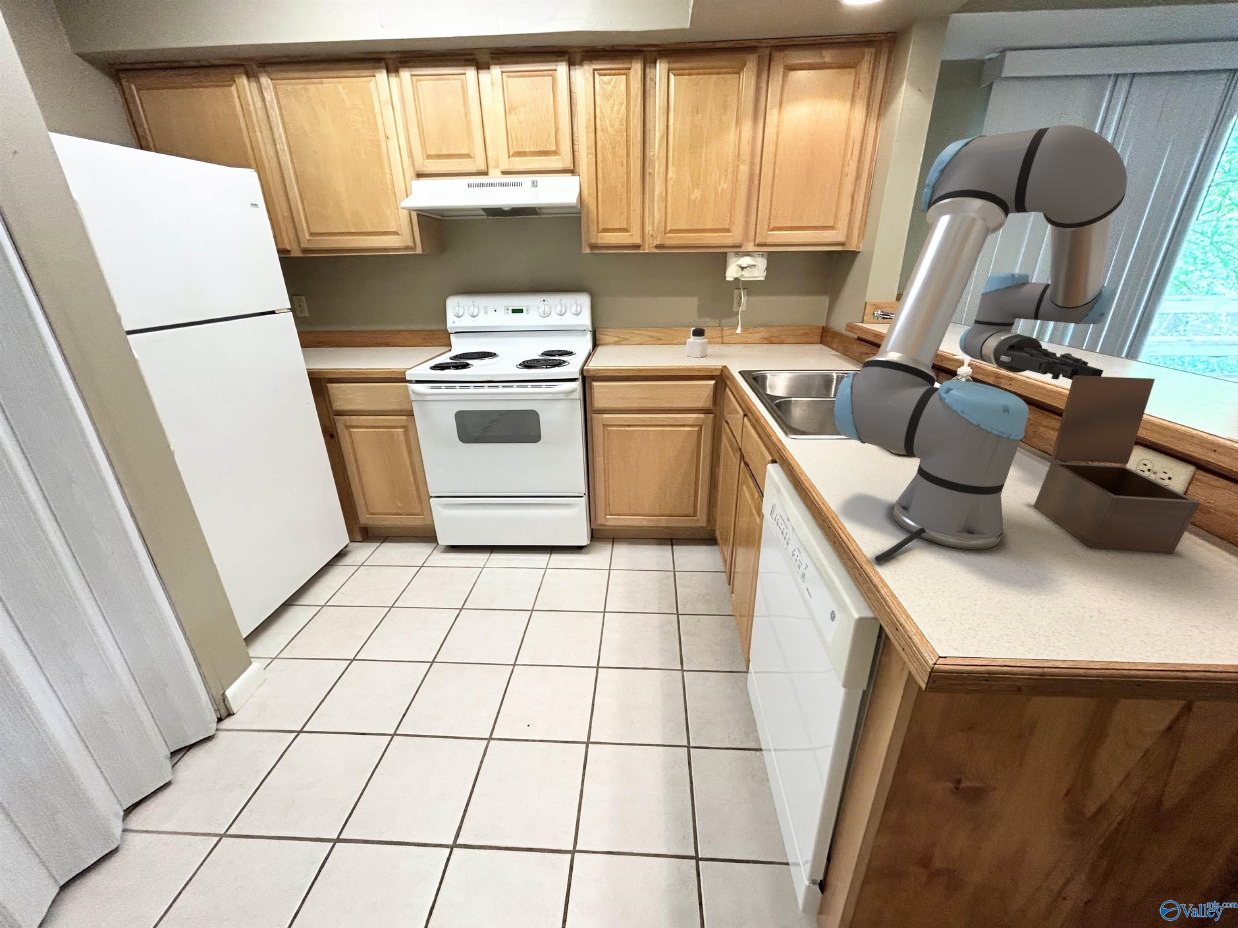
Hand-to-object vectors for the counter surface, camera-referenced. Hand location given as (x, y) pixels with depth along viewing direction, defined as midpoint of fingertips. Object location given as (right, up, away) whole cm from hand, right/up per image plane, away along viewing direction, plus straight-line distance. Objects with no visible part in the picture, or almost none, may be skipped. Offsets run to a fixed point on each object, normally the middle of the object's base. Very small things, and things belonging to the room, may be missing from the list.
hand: (1095, 377), depth 83 cm
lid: (-1, -8, -2) cm, 8 cm away
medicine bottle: (-48, +33, +133) cm, 145 cm away
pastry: (-16, -12, +30) cm, 36 cm away
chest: (-2, -26, -2) cm, 26 cm away
